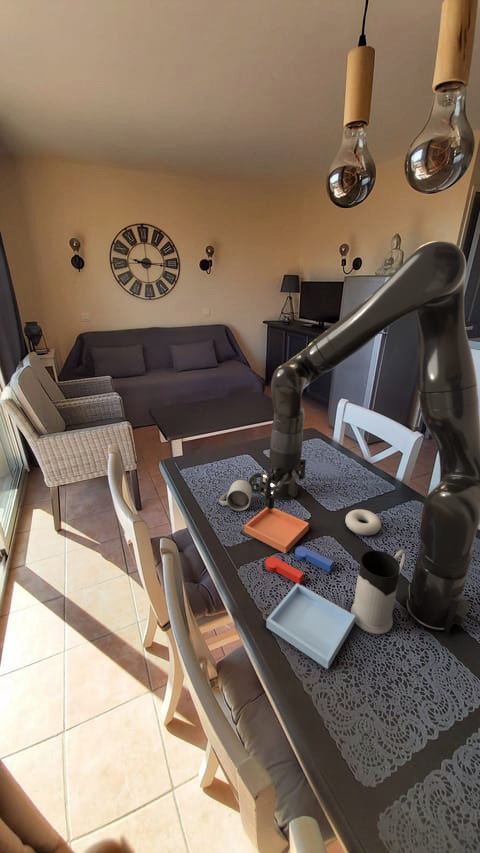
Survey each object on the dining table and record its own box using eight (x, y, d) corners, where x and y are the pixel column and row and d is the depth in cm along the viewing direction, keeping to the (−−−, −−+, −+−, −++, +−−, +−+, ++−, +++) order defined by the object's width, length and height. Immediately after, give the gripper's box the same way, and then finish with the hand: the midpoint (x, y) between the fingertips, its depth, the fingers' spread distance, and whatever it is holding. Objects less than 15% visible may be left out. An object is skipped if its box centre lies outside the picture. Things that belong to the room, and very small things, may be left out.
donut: (345, 536, 103) (382, 539, 101) (346, 526, 102) (384, 529, 100) (343, 514, 112) (377, 517, 110) (344, 505, 111) (379, 508, 109)
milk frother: (302, 497, 121) (303, 458, 115) (256, 505, 117) (256, 465, 112) (287, 476, 133) (287, 440, 128) (245, 483, 130) (244, 446, 124)
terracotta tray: (308, 529, 106) (309, 523, 105) (285, 553, 97) (285, 546, 96) (268, 511, 114) (268, 505, 113) (244, 532, 106) (244, 525, 105)
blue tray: (354, 623, 78) (355, 615, 77) (327, 669, 69) (328, 661, 68) (296, 590, 86) (296, 582, 85) (266, 627, 77) (266, 619, 76)
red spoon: (305, 577, 90) (305, 570, 89) (297, 587, 87) (297, 580, 86) (271, 558, 96) (271, 552, 95) (262, 567, 93) (262, 560, 92)
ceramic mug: (252, 496, 122) (251, 477, 119) (250, 511, 115) (249, 491, 112) (221, 496, 123) (220, 476, 120) (217, 510, 116) (216, 490, 113)
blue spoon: (334, 565, 93) (335, 559, 92) (328, 574, 90) (328, 568, 89) (299, 548, 99) (300, 542, 98) (292, 556, 96) (292, 549, 95)
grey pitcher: (342, 612, 80) (348, 560, 74) (380, 581, 88) (388, 532, 82) (377, 641, 74) (386, 587, 68) (414, 605, 81) (426, 554, 75)
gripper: (277, 460, 78) (272, 520, 85) (317, 441, 87) (310, 497, 94) (253, 448, 83) (250, 505, 90) (293, 431, 92) (288, 484, 99)
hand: (281, 501), depth 92 cm, fingers open, 8 cm apart
